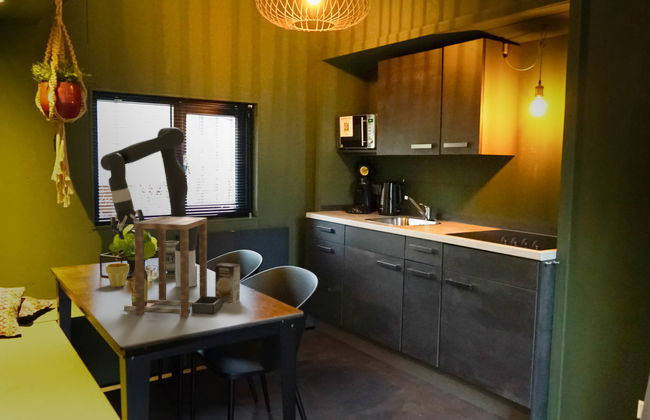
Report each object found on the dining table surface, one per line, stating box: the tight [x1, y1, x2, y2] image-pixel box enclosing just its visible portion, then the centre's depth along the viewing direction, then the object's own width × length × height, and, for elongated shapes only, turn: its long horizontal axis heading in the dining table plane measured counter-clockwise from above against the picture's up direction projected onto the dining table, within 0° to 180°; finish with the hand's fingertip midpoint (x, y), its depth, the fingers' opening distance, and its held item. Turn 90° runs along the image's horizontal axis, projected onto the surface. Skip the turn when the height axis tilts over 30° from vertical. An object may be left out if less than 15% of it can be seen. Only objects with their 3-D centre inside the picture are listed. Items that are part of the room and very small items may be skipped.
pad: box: [128, 303, 157, 307], centre depth 226 cm, size 9×10×1 cm
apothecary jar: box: [166, 240, 180, 279], centre depth 284 cm, size 12×12×18 cm
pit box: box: [191, 295, 224, 315], centre depth 223 cm, size 9×12×4 cm
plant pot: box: [105, 262, 130, 288], centre depth 262 cm, size 10×10×10 cm
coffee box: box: [214, 262, 241, 305], centre depth 237 cm, size 9×6×16 cm
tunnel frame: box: [123, 215, 208, 319], centre depth 224 cm, size 28×25×36 cm
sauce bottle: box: [131, 257, 149, 306], centre depth 225 cm, size 6×6×20 cm
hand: (131, 236), depth 237 cm, fingers open, 8 cm apart
